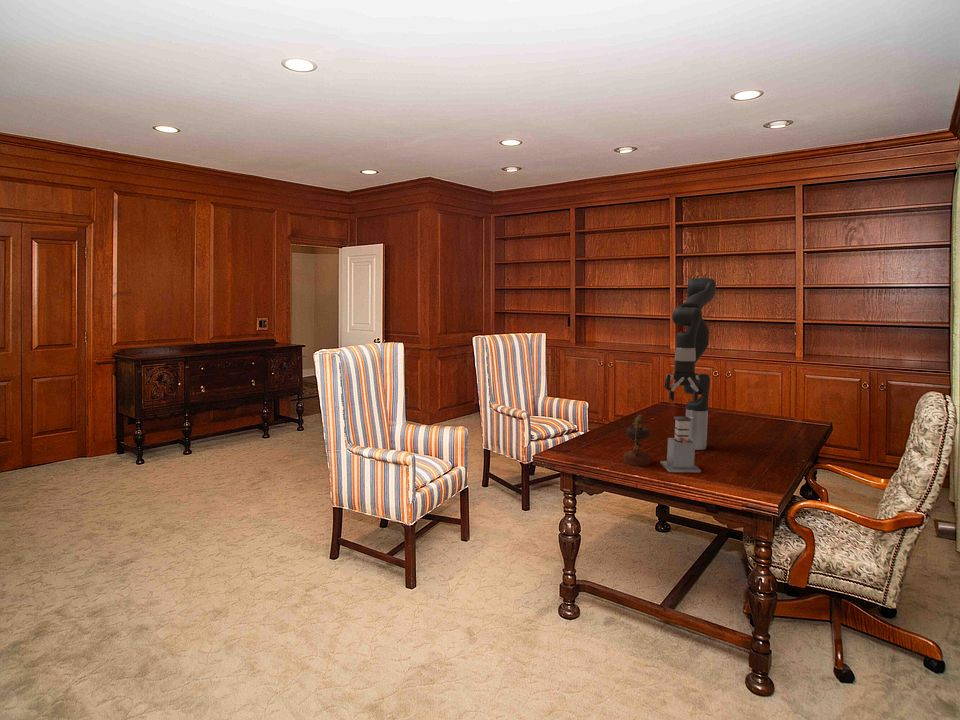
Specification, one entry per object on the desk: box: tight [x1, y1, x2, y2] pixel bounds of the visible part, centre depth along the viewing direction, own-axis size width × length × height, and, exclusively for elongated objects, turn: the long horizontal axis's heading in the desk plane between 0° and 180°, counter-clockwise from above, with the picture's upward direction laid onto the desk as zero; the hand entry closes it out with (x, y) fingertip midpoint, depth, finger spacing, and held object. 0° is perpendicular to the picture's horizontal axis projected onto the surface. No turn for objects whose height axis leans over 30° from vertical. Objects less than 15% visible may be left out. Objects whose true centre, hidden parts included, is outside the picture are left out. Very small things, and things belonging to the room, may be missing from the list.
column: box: [673, 416, 691, 442], centre depth 232 cm, size 5×5×19 cm
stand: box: [660, 437, 702, 474], centre depth 233 cm, size 12×12×12 cm
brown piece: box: [623, 414, 651, 467], centre depth 241 cm, size 15×11×20 cm
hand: (683, 400), depth 230 cm, fingers open, 8 cm apart
